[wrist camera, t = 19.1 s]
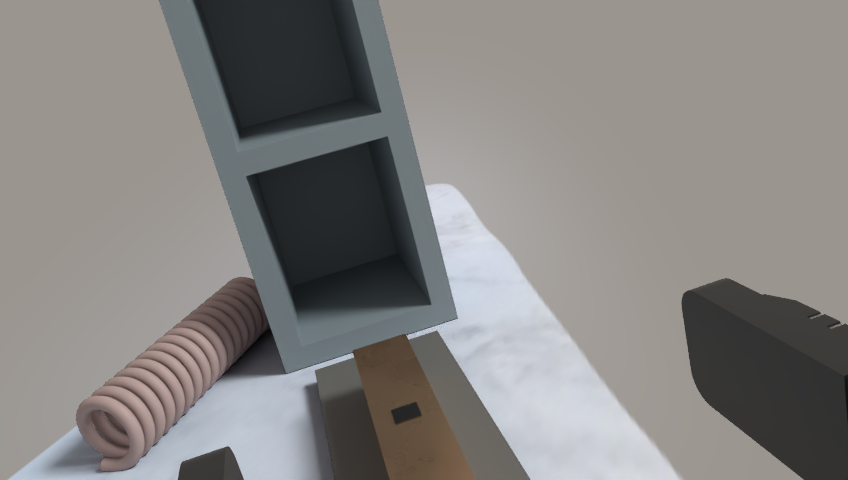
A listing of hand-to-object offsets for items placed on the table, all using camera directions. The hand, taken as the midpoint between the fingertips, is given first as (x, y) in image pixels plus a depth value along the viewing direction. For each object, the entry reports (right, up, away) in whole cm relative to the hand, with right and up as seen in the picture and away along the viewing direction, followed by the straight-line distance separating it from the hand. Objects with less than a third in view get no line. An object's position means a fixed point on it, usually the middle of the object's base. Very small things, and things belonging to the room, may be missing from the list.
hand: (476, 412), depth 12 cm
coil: (-16, -7, +37) cm, 41 cm away
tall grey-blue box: (-6, -2, +43) cm, 43 cm away
